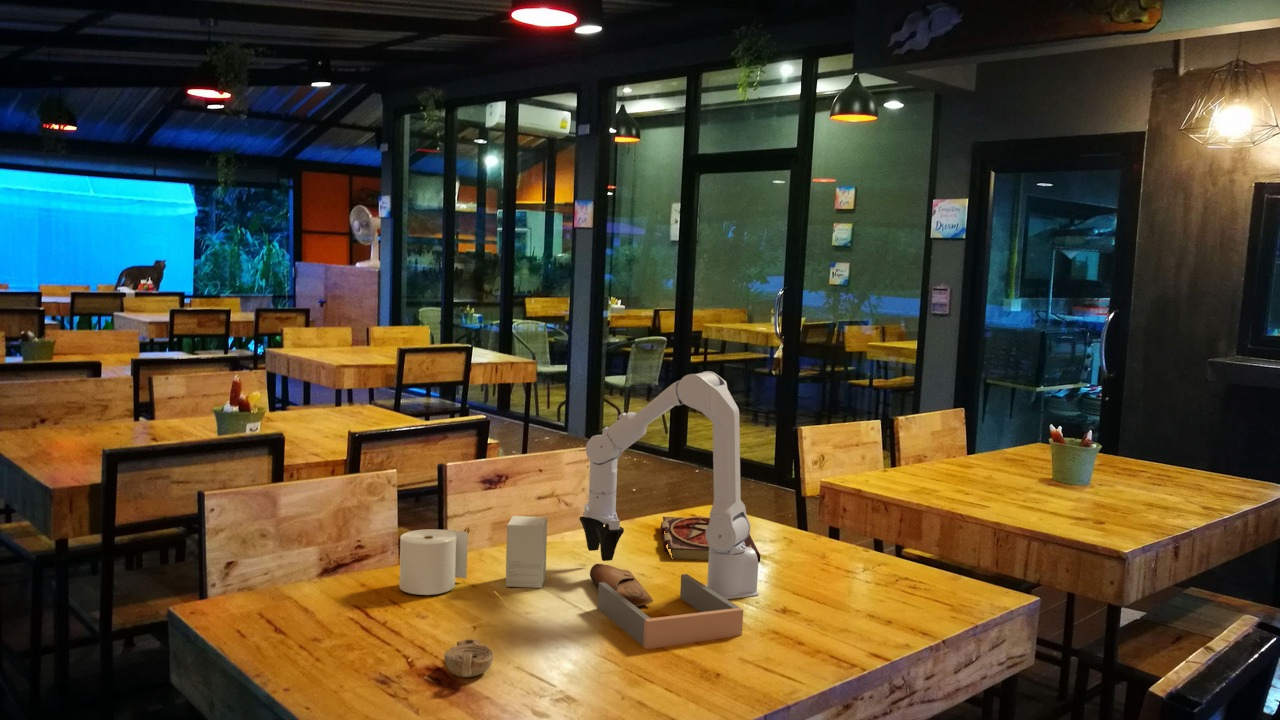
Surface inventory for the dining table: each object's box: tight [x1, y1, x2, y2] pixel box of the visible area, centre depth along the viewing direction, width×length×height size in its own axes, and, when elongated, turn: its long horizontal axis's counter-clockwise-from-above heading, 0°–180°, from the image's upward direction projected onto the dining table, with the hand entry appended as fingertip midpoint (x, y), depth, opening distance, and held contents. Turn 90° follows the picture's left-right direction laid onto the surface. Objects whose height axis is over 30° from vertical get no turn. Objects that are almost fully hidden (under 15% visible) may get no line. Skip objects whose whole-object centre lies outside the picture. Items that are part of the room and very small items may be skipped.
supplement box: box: [505, 515, 548, 589], centre depth 193 cm, size 7×7×13 cm
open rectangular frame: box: [597, 573, 744, 650], centre depth 174 cm, size 18×21×5 cm
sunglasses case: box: [589, 563, 654, 608], centre depth 188 cm, size 18×7×7 cm
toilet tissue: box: [398, 528, 469, 596], centre depth 188 cm, size 11×12×10 cm
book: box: [660, 516, 762, 563], centre depth 227 cm, size 28×21×5 cm
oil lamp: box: [443, 638, 494, 678], centre depth 149 cm, size 13×8×5 cm, turn 5°
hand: (600, 555), depth 203 cm, fingers open, 7 cm apart
